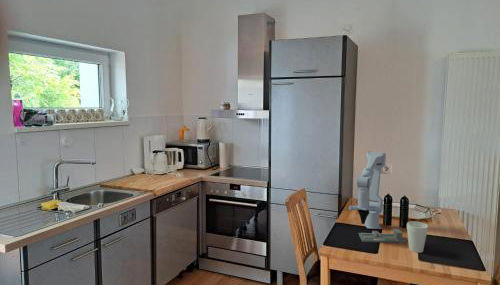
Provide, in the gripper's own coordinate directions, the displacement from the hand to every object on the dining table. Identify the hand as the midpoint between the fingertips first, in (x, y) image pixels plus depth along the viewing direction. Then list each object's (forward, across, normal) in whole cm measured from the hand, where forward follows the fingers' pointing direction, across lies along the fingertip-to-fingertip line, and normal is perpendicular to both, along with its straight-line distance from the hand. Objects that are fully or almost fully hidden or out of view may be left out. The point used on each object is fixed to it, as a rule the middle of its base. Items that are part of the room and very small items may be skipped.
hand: (362, 223), depth 186 cm
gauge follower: (+7, +7, -1) cm, 10 cm away
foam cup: (+9, +23, -13) cm, 28 cm away
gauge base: (+8, +10, 0) cm, 13 cm away
